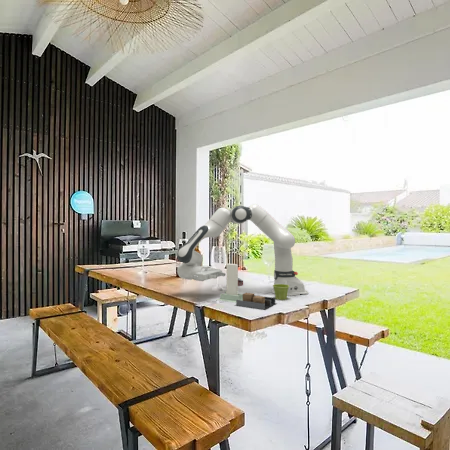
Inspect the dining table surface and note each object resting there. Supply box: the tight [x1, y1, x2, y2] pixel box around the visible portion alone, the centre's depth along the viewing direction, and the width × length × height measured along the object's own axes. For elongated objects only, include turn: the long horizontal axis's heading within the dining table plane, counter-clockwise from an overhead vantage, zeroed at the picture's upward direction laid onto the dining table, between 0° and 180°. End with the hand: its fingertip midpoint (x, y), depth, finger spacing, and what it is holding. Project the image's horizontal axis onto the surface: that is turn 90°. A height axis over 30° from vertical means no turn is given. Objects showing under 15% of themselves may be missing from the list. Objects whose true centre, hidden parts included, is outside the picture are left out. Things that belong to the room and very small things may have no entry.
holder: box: [215, 291, 244, 304], centre depth 201 cm, size 12×14×4 cm
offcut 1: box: [242, 292, 255, 302], centre depth 188 cm, size 4×5×6 cm
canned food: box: [238, 277, 244, 287], centre depth 250 cm, size 11×10×10 cm
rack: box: [233, 294, 278, 311], centre depth 189 cm, size 16×18×4 cm
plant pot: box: [272, 284, 289, 301], centre depth 203 cm, size 9×9×9 cm
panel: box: [225, 263, 239, 296], centre depth 201 cm, size 2×6×20 cm, turn 59°
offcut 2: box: [253, 295, 266, 303], centre depth 185 cm, size 4×5×5 cm
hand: (220, 275), depth 205 cm, fingers open, 8 cm apart
